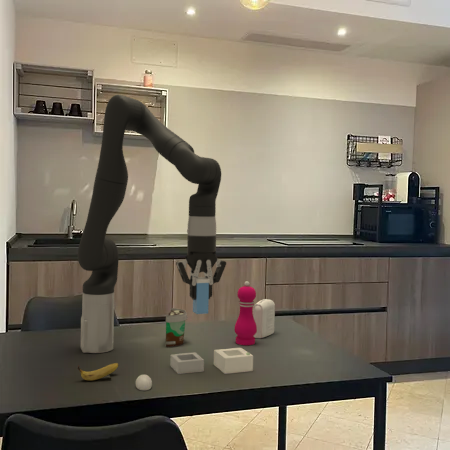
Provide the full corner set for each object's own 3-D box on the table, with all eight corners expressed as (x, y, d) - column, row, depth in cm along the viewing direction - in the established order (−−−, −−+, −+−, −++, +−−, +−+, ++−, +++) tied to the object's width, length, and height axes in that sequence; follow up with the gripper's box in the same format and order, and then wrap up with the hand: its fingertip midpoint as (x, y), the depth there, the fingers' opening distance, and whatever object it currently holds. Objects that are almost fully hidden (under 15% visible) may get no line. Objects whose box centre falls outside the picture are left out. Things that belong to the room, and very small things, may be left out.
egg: (149, 386, 129) (150, 370, 129) (153, 395, 123) (153, 378, 123) (134, 387, 128) (134, 371, 128) (137, 396, 122) (137, 380, 122)
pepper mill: (261, 343, 171) (262, 281, 170) (246, 347, 166) (248, 283, 165) (244, 338, 176) (245, 278, 175) (229, 342, 171) (231, 280, 170)
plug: (196, 314, 137) (197, 279, 137) (192, 311, 140) (192, 277, 140) (208, 313, 139) (209, 278, 138) (204, 310, 142) (204, 277, 141)
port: (224, 377, 137) (225, 356, 137) (213, 368, 144) (214, 348, 144) (252, 374, 140) (253, 354, 140) (240, 365, 147) (240, 346, 147)
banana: (117, 376, 135) (118, 361, 135) (118, 380, 133) (119, 364, 133) (76, 379, 132) (77, 364, 132) (77, 383, 130) (77, 367, 130)
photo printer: (264, 331, 187) (265, 296, 186) (275, 333, 184) (276, 298, 184) (250, 337, 178) (251, 301, 177) (261, 339, 176) (263, 302, 175)
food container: (185, 348, 162) (185, 316, 162) (165, 348, 162) (165, 315, 162) (188, 338, 175) (189, 308, 174) (170, 337, 175) (170, 307, 174)
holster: (177, 377, 136) (178, 362, 136) (170, 369, 142) (170, 354, 142) (203, 374, 138) (204, 359, 138) (194, 366, 145) (195, 352, 145)
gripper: (180, 234, 133) (179, 303, 133) (232, 234, 138) (231, 300, 139) (171, 233, 140) (171, 298, 140) (221, 232, 145) (220, 295, 146)
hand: (200, 298), depth 139 cm, fingers closed on plug, 3 cm apart
